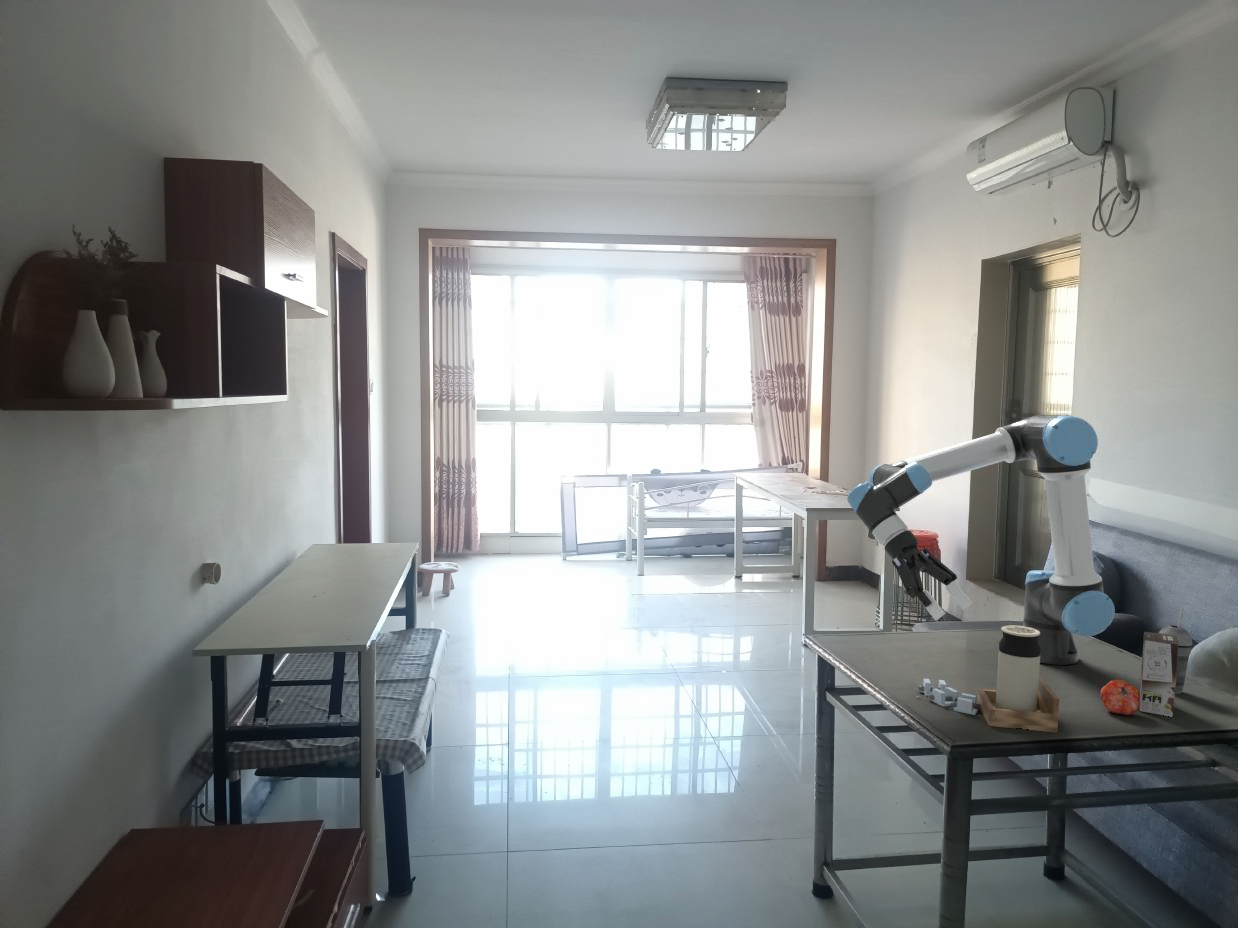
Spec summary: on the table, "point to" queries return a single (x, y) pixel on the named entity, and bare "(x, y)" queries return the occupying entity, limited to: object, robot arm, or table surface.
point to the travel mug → (1018, 669)
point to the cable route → (950, 697)
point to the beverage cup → (1180, 651)
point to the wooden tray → (1022, 719)
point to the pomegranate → (1120, 697)
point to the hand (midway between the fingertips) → (954, 611)
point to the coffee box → (1158, 673)
